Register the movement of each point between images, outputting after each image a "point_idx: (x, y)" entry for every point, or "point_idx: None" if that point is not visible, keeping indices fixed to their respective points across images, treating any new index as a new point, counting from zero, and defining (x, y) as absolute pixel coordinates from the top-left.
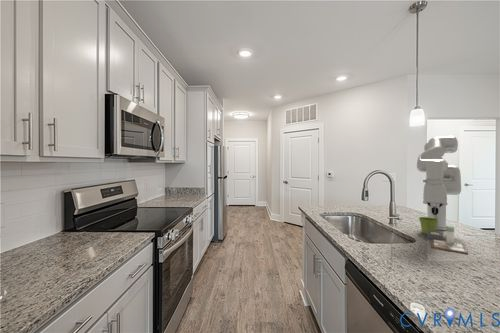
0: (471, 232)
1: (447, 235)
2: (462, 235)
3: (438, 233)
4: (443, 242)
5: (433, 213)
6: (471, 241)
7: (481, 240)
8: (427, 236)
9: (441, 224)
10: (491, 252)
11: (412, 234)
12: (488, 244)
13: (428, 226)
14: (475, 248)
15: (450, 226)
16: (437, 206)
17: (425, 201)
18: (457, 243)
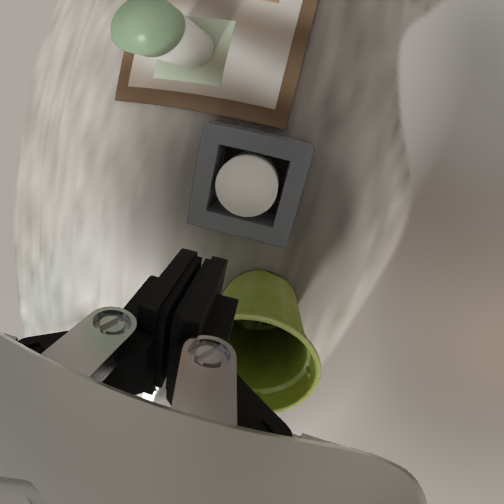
0: None
1: (193, 23)
2: (100, 307)
3: (222, 184)
4: (229, 52)
5: (219, 268)
6: (75, 201)
7: (44, 243)
8: (309, 144)
9: (167, 402)
10: (52, 34)
11: (378, 230)
12: (30, 180)
13: (264, 296)
14: (88, 57)
15: (128, 50)
16: (107, 339)
17: (388, 461)
18: (149, 75)
